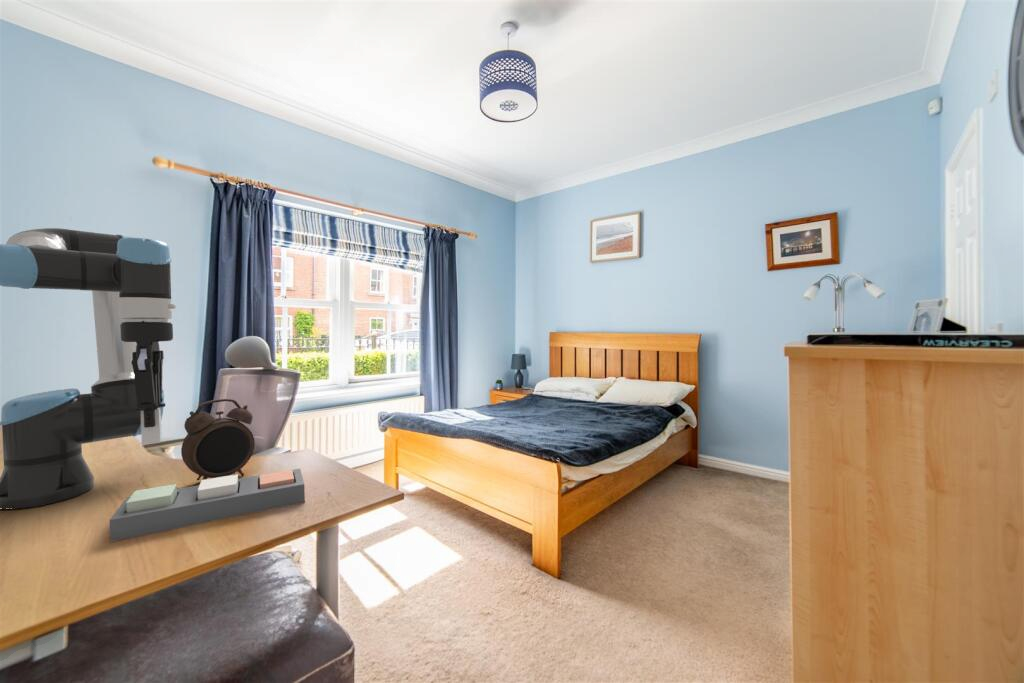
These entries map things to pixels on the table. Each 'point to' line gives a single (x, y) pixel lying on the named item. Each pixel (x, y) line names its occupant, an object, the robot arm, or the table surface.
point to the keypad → (205, 507)
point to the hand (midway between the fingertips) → (152, 442)
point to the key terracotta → (276, 479)
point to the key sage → (152, 498)
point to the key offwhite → (218, 487)
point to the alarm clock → (217, 442)
